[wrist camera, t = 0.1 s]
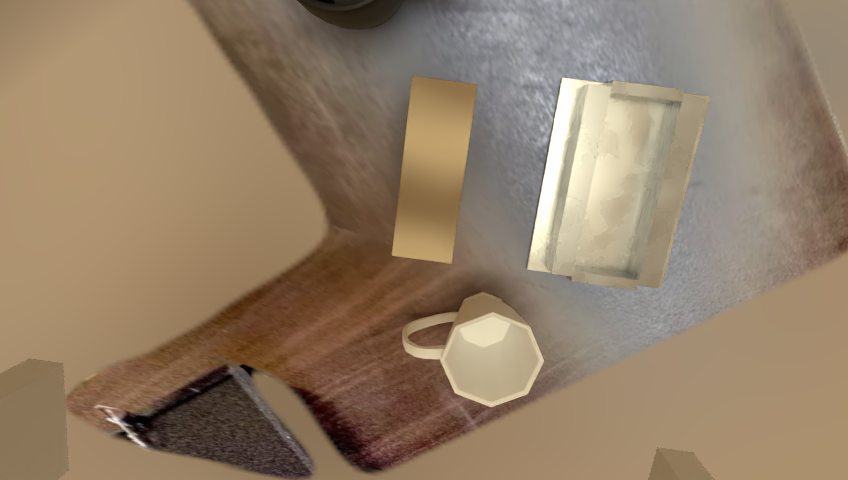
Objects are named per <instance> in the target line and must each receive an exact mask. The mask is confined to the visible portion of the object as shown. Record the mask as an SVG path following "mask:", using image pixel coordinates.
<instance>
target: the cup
mask: <svg viewBox="0 0 848 480" xmlns="http://www.w3.org/2000/svg"><path fill="white" fill-rule="evenodd" d="M446 322H454V323H453V325H452V328H451V330H450V332H449V335H448V339H447V342H446V345H440V346H427V347H423V346H418V345H416V344H414V343H413V342H411V341H409V340H408V336H409V335H410V334H411V333H413V332H415V331H417V330H420V329H423V328H426V327H430V326H433V325H437V324H441V323H446ZM402 338H403V346H404V348H405V351H406V352H408V353H409V354H411V355H413V356H414V357H418V358H423V359H440V361H441V363H442V366H443V368H444V370H445V372H446V374H447V376H448V379H449V381H450V383H451V385H452V387H453V390H454V392H455V393H456V394H458V395H461V396H463V397H466V398H469V399H471V400H474V401H476V402H479V403H482V404H484V405H487V406H489V407H493V406H496V405H498V404H501V403H504V402H507V401H510V400H512V399H515V398H518V397H521V396H524V395H527V394H528V392H529V390H530V388H531V386H532V384H533V382H534V380H535V378H536V376H537V374H538V372H539V370H540V368H541V366H542V364H543V362H544V360H543V357H542V355H541V352H540V350H539V347H538V345H537V343H536V340H535V338H534V335H533V333H532V330H531V328H530V326H529V325H528V324H527V323H526V322H525V321H524V320H523V319H522V318H521V317H520V316H519V315H518V314H517V313H516V312H515V310H514V309H513V308H511V307H510V306H508V305H506V304H505V303H503V302H502V300H501V299H500V298H498V297H495V296H493V295H490V294H488V293H485V292H480V293H478V294H475V295H473V296H470V297H468V298H465V299H464V300H463V303H462V305H461V307H460V309H459V312H447V313H442V314H436V315H432V316H429V317H425V318H421V319H418V320H415V321H413V322H411V323H408V324H407V325H406V326H405V327H404V328H403V330H402Z"/></svg>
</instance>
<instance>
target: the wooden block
mask: <svg viewBox="0 0 848 480" xmlns="http://www.w3.org/2000/svg"><path fill="white" fill-rule="evenodd" d="M476 91H477V84H471V83H463V82H455V81H447V80H439V79H432V78H424V77H416V76H412V84H411V93H410V101H409V110H408V119H407V127H406V136H405V145H404V154H403V162H402V171H401V180H400V188H399V197H398V206H397V215H396V223H395V232H394V241H393V250H392V256H398V257H406V258H413V259H421V260H428V261H436V262H443V263H450V264H451V263H452V256H453V249H454V242H455V235H456V228H457V221H458V214H459V207H460V201H461V194H462V187H463V180H464V173H465V166H466V159H467V152H468V146H469V139H470V132H471V125H472V118H473V111H474V104H475V97H476Z"/></svg>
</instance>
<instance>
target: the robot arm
mask: <svg viewBox="0 0 848 480" xmlns="http://www.w3.org/2000/svg"><path fill="white" fill-rule="evenodd" d="M68 470H69V466H68V447H67V429H66V408H65V389H64V370H63V363H58V362H51V361H44V360H36V359H28V360H26V361H24V362H22V363H20V364H18V365H16V366H14V367H12V368H10V369H8V370H6V371H4V372H3V373H1V374H0V480H58V479H59V478H60V477H61V476H63V475H64V474H65V473H66V472H67V471H68ZM648 480H714V478H713V477H712V476H711V475H710V473H709V472H708V471H707V470H706V468H705V467H704V466H703V465H702V463H701V462H700V461H699V460H698V458H697V457H696V456H695V454H694V453H693V452H687V451H680V450H673V449H665V448H659V447H658V448H657V450H656V454H655V457H654V461H653V465H652V468H651V473H650V476H649V479H648Z"/></svg>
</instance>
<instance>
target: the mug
mask: <svg viewBox="0 0 848 480" xmlns="http://www.w3.org/2000/svg"><path fill="white" fill-rule="evenodd" d="M297 1H298V2H300V3H301V4H302V5H303V6H304V7H305V8H306V9H307V10H308V11H309V12H311V13H312V14H314V15H315V16H317V17H319V18H320V19H322V20H324V21H326V22H328V23H330V24H333V25H336V26H340V27H343V28H347V29H366V28H371V27H374V26H377V25H379V24H382V23H384V22H385V21H386V20H388V19H389V18H390V17H391V16H392V15H393V14H394V13H395V12H396V11H397V9H398V8H399V7H400V6H401V4H402V2H403V0H297Z"/></svg>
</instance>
